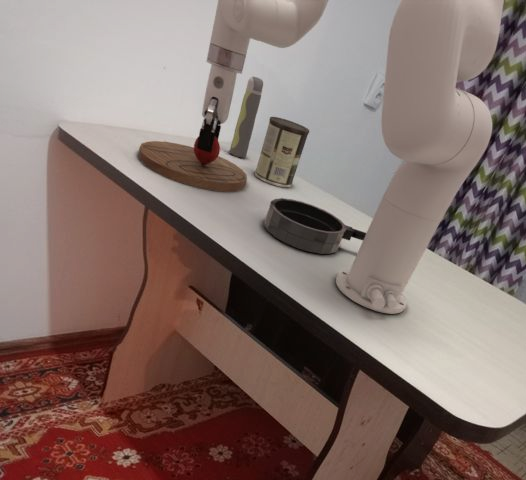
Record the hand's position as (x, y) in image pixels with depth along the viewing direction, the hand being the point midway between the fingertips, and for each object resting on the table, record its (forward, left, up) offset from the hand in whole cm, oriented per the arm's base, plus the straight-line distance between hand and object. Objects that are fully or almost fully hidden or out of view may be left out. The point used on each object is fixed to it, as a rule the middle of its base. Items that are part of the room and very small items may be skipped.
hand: (207, 145), depth 103 cm
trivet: (+1, +2, -6) cm, 7 cm away
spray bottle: (+29, -6, -6) cm, 30 cm away
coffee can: (+15, -17, -6) cm, 24 cm away
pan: (-21, -24, -6) cm, 32 cm away
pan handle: (-21, -37, -4) cm, 43 cm away
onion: (0, 0, -4) cm, 4 cm away
